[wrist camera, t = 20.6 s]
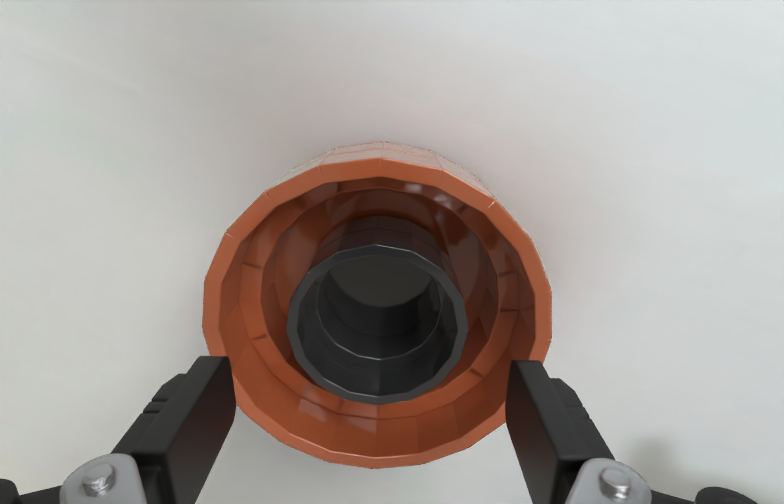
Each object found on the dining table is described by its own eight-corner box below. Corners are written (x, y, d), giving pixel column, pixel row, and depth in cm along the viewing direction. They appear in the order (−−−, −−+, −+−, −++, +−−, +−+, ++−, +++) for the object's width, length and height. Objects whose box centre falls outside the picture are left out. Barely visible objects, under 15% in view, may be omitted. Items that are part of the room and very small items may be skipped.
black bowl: (318, 200, 18) (297, 230, 15) (468, 227, 19) (487, 264, 15) (300, 332, 21) (278, 390, 17) (435, 354, 21) (444, 416, 17)
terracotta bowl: (259, 115, 18) (210, 124, 13) (550, 171, 19) (603, 199, 14) (238, 367, 22) (195, 443, 17) (477, 406, 23) (498, 488, 18)
